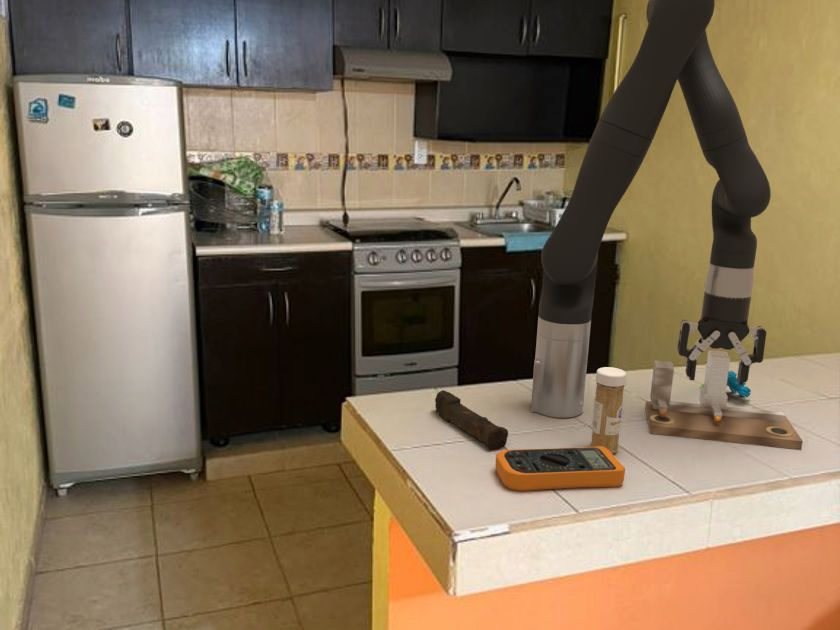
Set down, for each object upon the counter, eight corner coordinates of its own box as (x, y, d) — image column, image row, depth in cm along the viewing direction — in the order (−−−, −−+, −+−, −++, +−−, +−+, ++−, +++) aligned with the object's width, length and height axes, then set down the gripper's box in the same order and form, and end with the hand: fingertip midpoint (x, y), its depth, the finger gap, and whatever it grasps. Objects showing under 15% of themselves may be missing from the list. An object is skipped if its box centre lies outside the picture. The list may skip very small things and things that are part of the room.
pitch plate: (650, 433, 133) (656, 379, 130) (645, 408, 144) (651, 358, 142) (801, 449, 128) (810, 394, 126) (783, 422, 140) (791, 371, 137)
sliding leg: (705, 421, 133) (713, 364, 130) (698, 404, 141) (705, 349, 138) (730, 424, 132) (738, 366, 129) (721, 406, 140) (729, 351, 138)
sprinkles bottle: (617, 457, 123) (625, 376, 119) (588, 453, 124) (595, 373, 121) (619, 446, 127) (627, 368, 124) (590, 442, 128) (598, 364, 125)
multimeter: (491, 468, 118) (492, 447, 118) (603, 463, 121) (605, 443, 120) (506, 495, 110) (507, 473, 109) (626, 489, 113) (628, 468, 112)
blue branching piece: (762, 397, 147) (730, 361, 145) (741, 419, 147) (708, 384, 145) (729, 385, 158) (699, 351, 156) (709, 406, 158) (679, 372, 156)
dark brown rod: (508, 449, 125) (510, 422, 124) (487, 453, 123) (489, 426, 122) (449, 409, 141) (450, 385, 140) (430, 412, 139) (431, 388, 138)
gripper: (687, 292, 131) (675, 384, 135) (777, 299, 128) (763, 392, 132) (681, 283, 138) (671, 371, 142) (767, 289, 135) (754, 378, 140)
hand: (715, 381), depth 137 cm, fingers open, 7 cm apart
